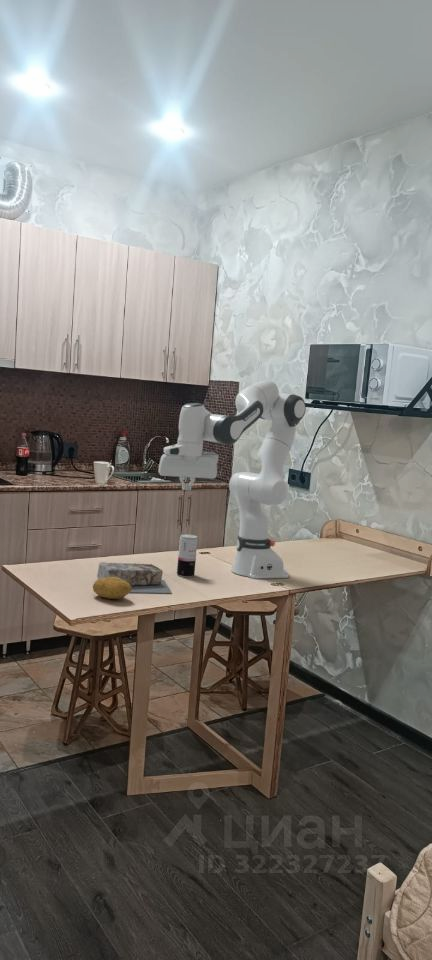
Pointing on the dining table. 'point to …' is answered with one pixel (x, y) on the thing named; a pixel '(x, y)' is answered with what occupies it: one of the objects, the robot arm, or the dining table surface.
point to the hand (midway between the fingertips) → (186, 489)
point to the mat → (152, 588)
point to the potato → (111, 587)
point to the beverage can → (187, 555)
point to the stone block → (131, 573)
